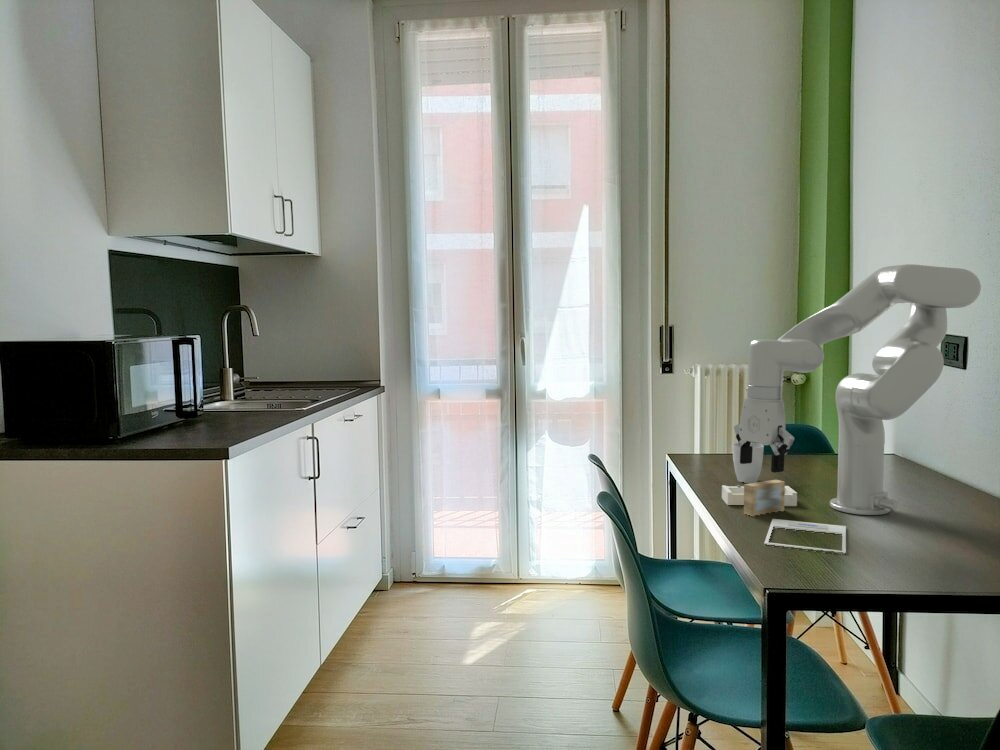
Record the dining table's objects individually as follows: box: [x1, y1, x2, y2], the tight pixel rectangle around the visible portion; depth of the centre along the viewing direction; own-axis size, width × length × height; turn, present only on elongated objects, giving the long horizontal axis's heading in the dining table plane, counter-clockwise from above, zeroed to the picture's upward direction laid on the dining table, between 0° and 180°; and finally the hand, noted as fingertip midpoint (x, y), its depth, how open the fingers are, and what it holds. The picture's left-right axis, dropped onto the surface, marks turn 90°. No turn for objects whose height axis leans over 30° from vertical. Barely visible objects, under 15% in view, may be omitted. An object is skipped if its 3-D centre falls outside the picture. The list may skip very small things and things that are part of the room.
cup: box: [732, 442, 765, 484], centre depth 194 cm, size 8×8×10 cm
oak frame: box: [743, 479, 786, 517], centre depth 164 cm, size 10×2×7 cm, turn 114°
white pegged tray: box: [721, 484, 798, 507], centre depth 173 cm, size 16×7×3 cm, turn 84°
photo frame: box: [763, 518, 847, 554], centre depth 146 cm, size 15×1×18 cm
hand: (761, 467), depth 163 cm, fingers open, 9 cm apart
